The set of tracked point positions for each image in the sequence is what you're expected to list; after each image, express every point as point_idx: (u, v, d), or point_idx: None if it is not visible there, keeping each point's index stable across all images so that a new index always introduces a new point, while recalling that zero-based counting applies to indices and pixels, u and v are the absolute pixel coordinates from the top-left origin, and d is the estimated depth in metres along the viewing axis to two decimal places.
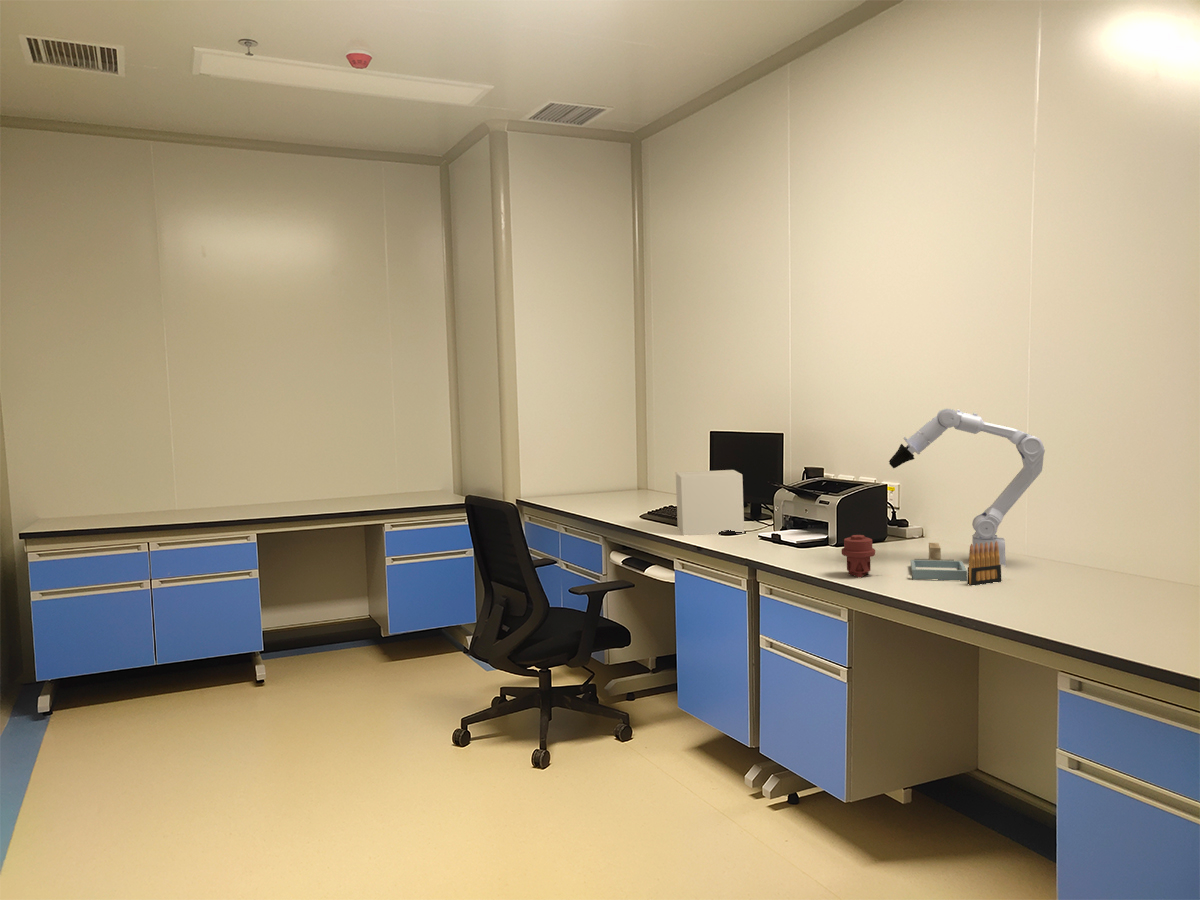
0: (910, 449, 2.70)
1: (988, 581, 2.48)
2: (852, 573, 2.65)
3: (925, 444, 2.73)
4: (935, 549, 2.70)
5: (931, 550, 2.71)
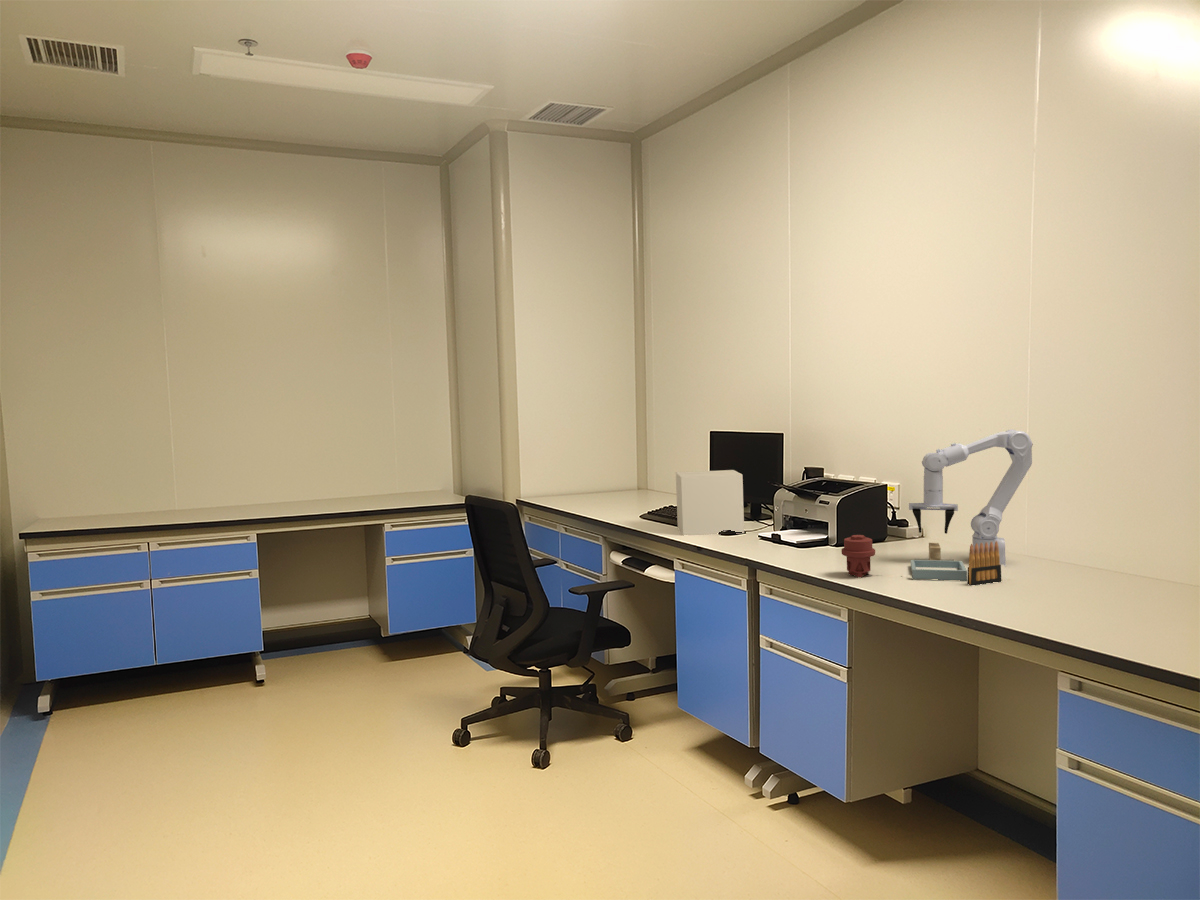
0: (957, 508, 2.71)
1: (988, 581, 2.48)
2: (852, 573, 2.65)
3: None
4: (935, 549, 2.70)
5: (931, 550, 2.71)
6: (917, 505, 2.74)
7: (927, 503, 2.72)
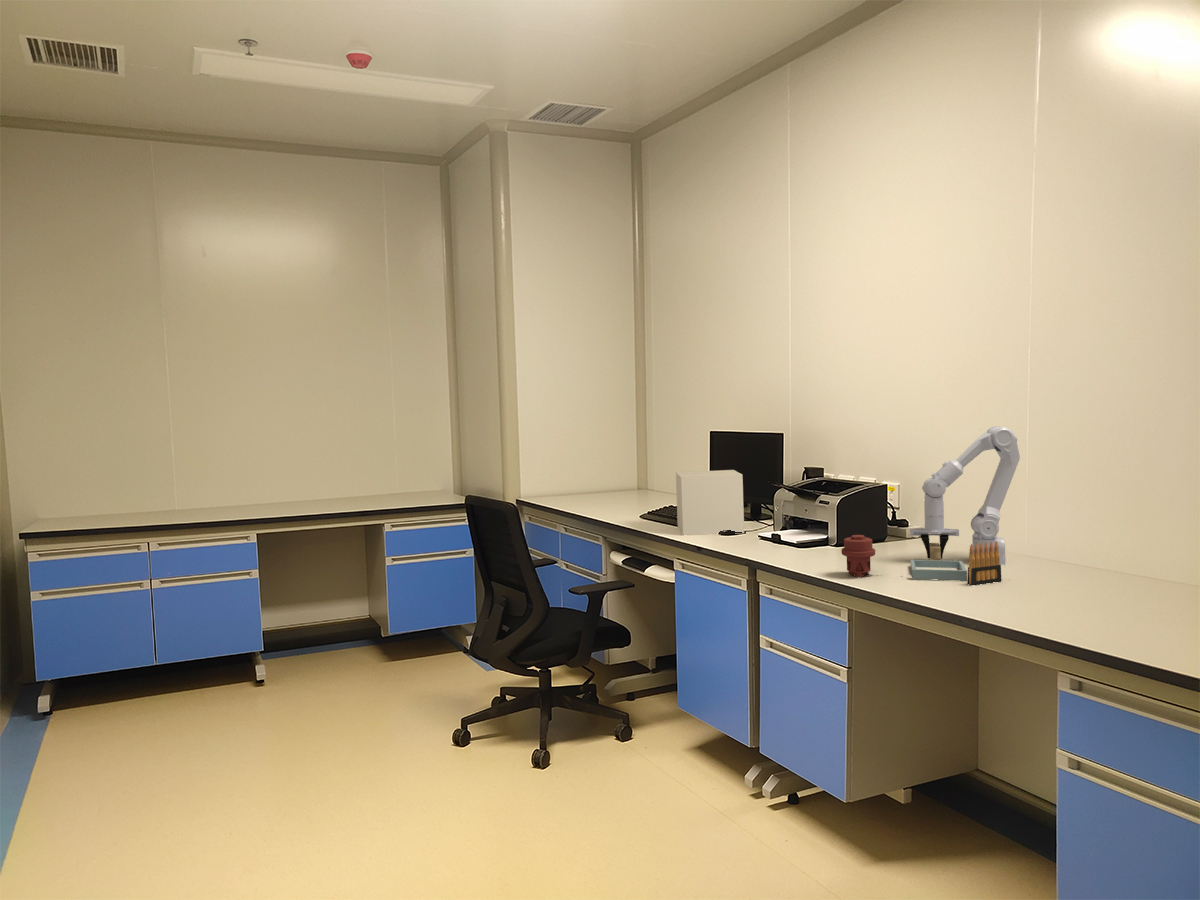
0: None
1: (988, 581, 2.48)
2: (852, 573, 2.65)
3: None
4: (935, 549, 2.70)
5: (931, 550, 2.71)
6: (918, 531, 2.74)
7: (928, 529, 2.73)
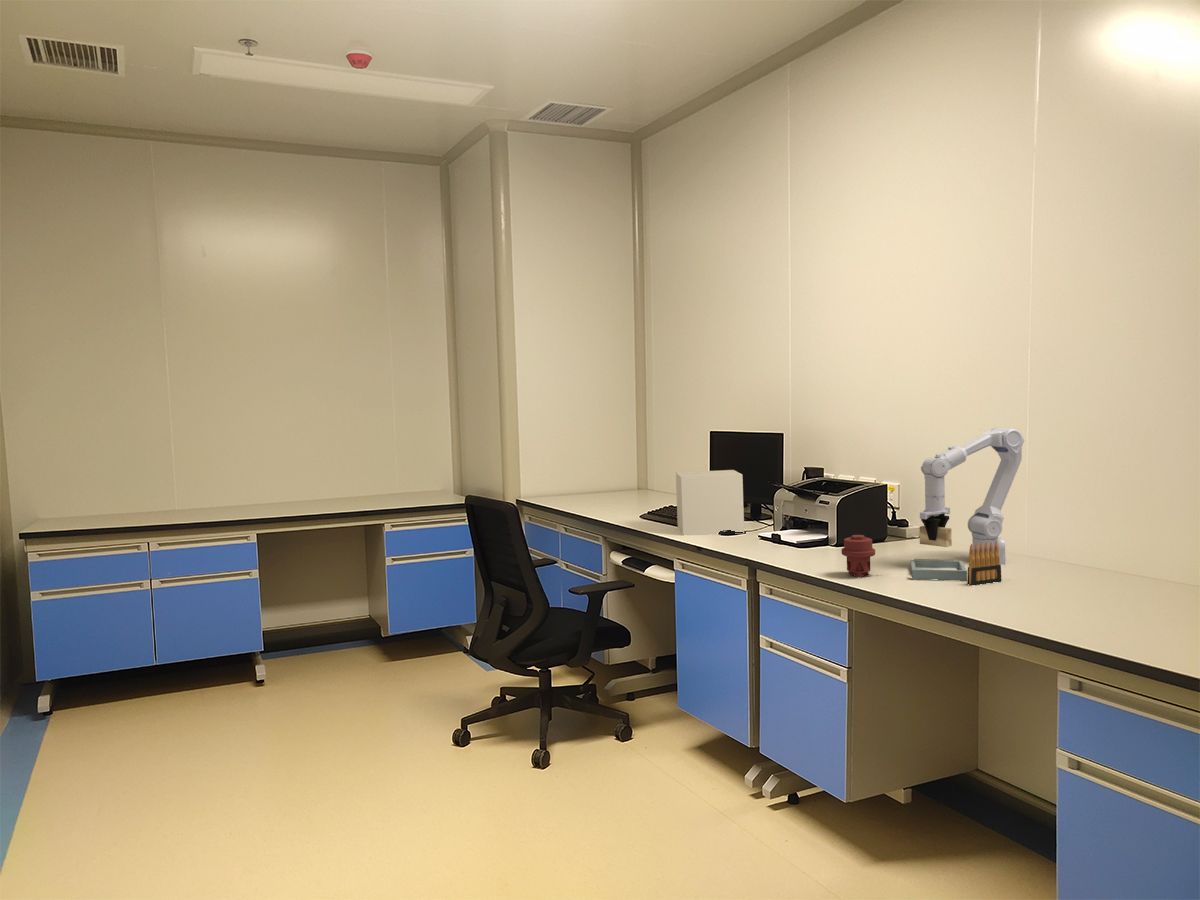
0: None
1: (988, 581, 2.48)
2: (852, 573, 2.65)
3: None
4: (948, 530, 2.66)
5: (946, 532, 2.65)
6: (931, 513, 2.64)
7: (938, 510, 2.66)
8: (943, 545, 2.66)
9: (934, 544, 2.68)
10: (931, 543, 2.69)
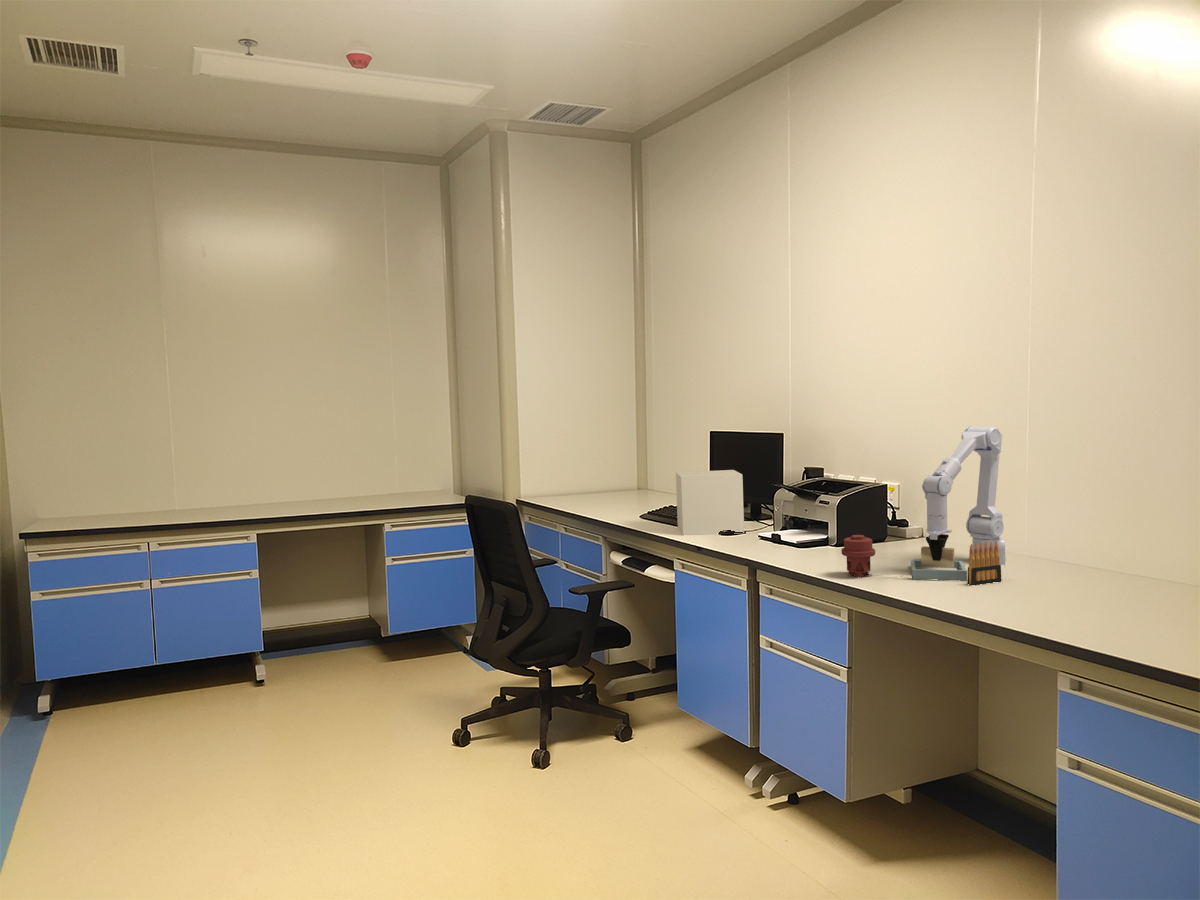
0: None
1: (988, 581, 2.48)
2: (852, 573, 2.65)
3: None
4: (953, 550, 2.59)
5: (952, 552, 2.58)
6: (940, 533, 2.56)
7: (944, 529, 2.58)
8: (949, 566, 2.58)
9: (938, 565, 2.60)
10: (935, 564, 2.60)
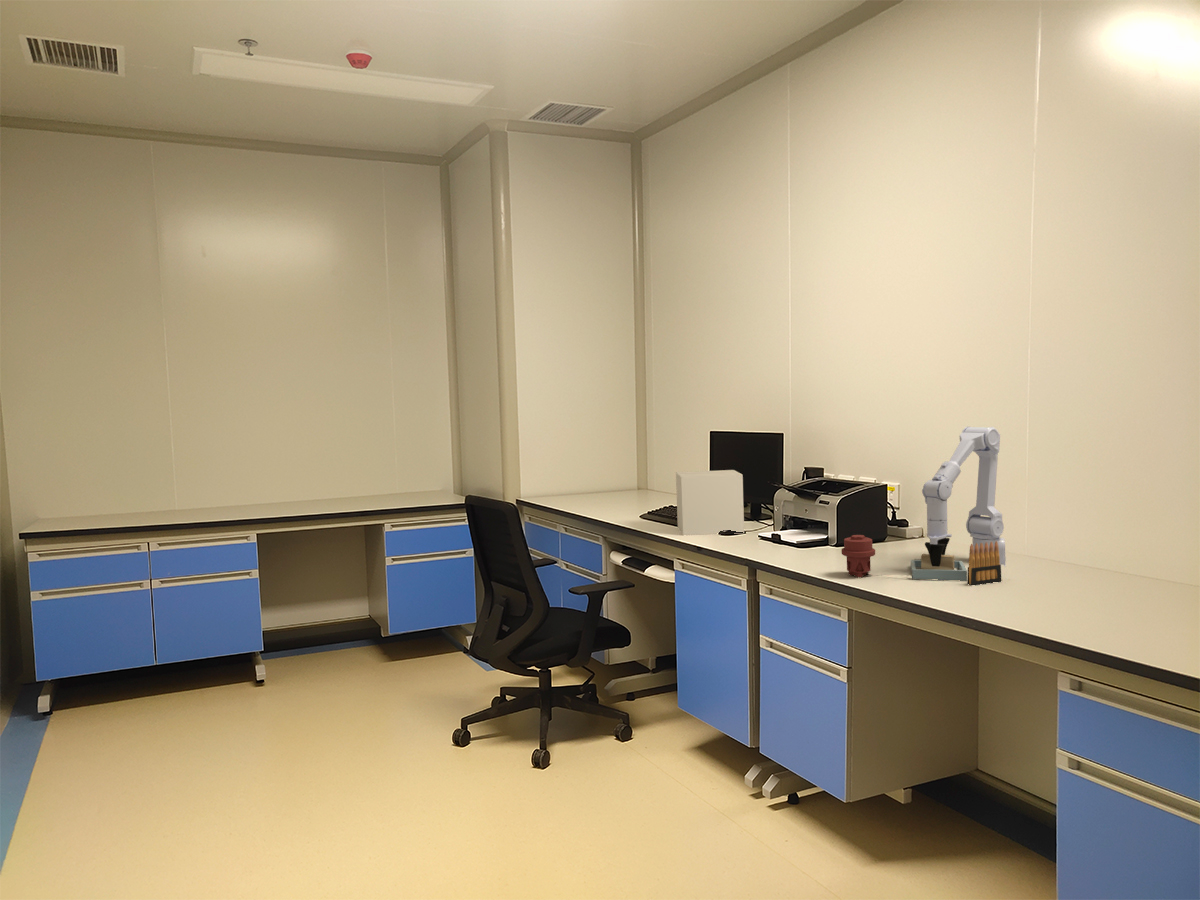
0: None
1: (988, 581, 2.48)
2: (852, 573, 2.65)
3: None
4: (953, 558, 2.59)
5: (952, 559, 2.58)
6: (940, 538, 2.56)
7: (944, 533, 2.58)
8: None
9: None
10: None
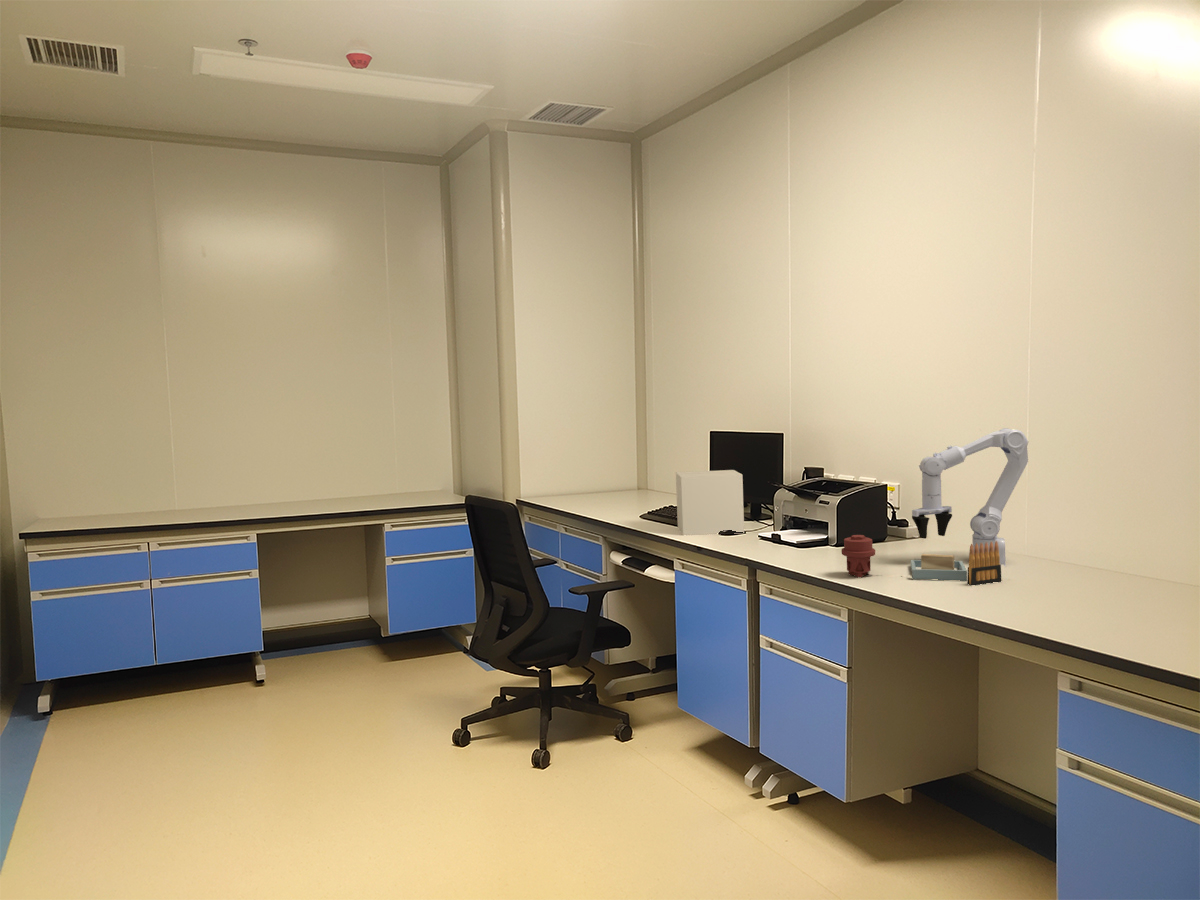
0: None
1: (988, 581, 2.48)
2: (852, 573, 2.65)
3: None
4: (953, 558, 2.59)
5: (952, 559, 2.58)
6: (924, 511, 2.70)
7: (932, 508, 2.70)
8: None
9: None
10: None
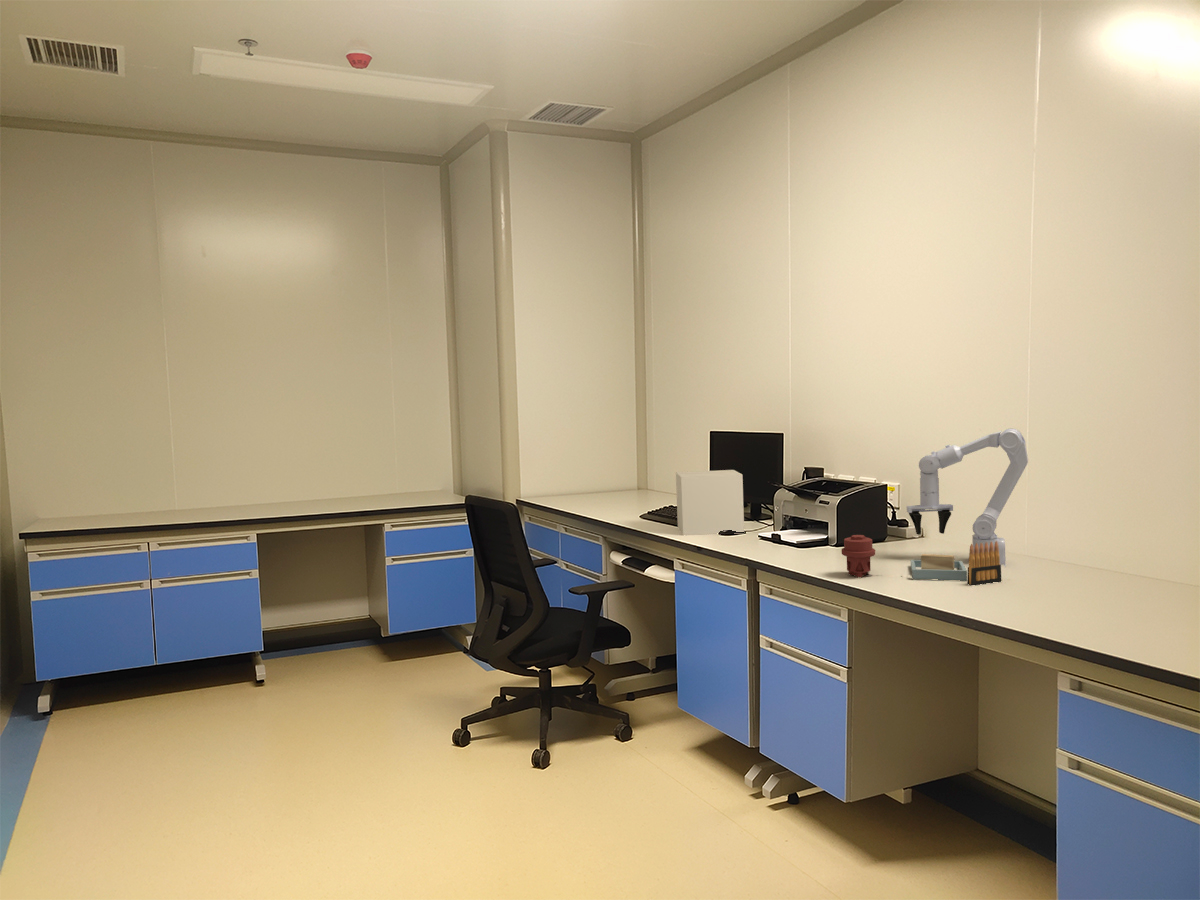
0: None
1: (988, 581, 2.48)
2: (852, 573, 2.65)
3: None
4: (953, 558, 2.59)
5: (952, 559, 2.58)
6: (917, 507, 2.77)
7: (927, 505, 2.77)
8: None
9: None
10: None
